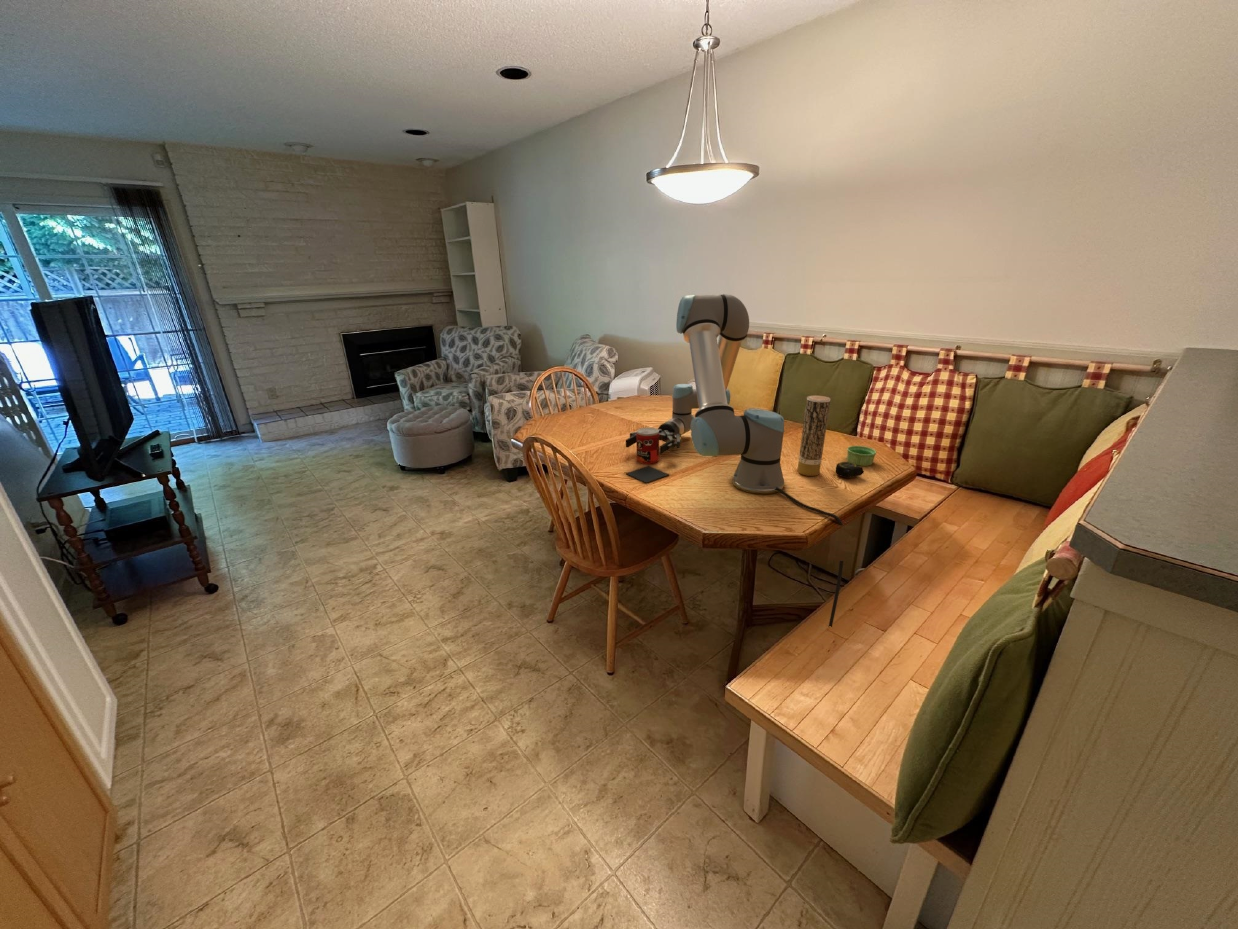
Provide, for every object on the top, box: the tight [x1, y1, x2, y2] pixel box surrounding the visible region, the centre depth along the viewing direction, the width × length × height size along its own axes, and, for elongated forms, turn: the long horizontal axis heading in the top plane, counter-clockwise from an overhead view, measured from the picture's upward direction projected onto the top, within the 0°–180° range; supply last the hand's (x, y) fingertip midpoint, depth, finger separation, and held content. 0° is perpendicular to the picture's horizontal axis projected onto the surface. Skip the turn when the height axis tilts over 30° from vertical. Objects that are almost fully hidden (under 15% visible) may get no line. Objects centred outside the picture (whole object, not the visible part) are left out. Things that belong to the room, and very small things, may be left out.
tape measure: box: [835, 461, 865, 479], centre depth 153 cm, size 7×7×4 cm
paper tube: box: [797, 395, 831, 477], centre depth 152 cm, size 7×7×25 cm
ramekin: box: [846, 445, 877, 467], centre depth 164 cm, size 9×9×4 cm
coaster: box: [625, 465, 670, 484], centre depth 157 cm, size 10×10×1 cm
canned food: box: [636, 427, 660, 465], centre depth 167 cm, size 8×8×11 cm
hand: (643, 446), depth 165 cm, fingers open, 13 cm apart
